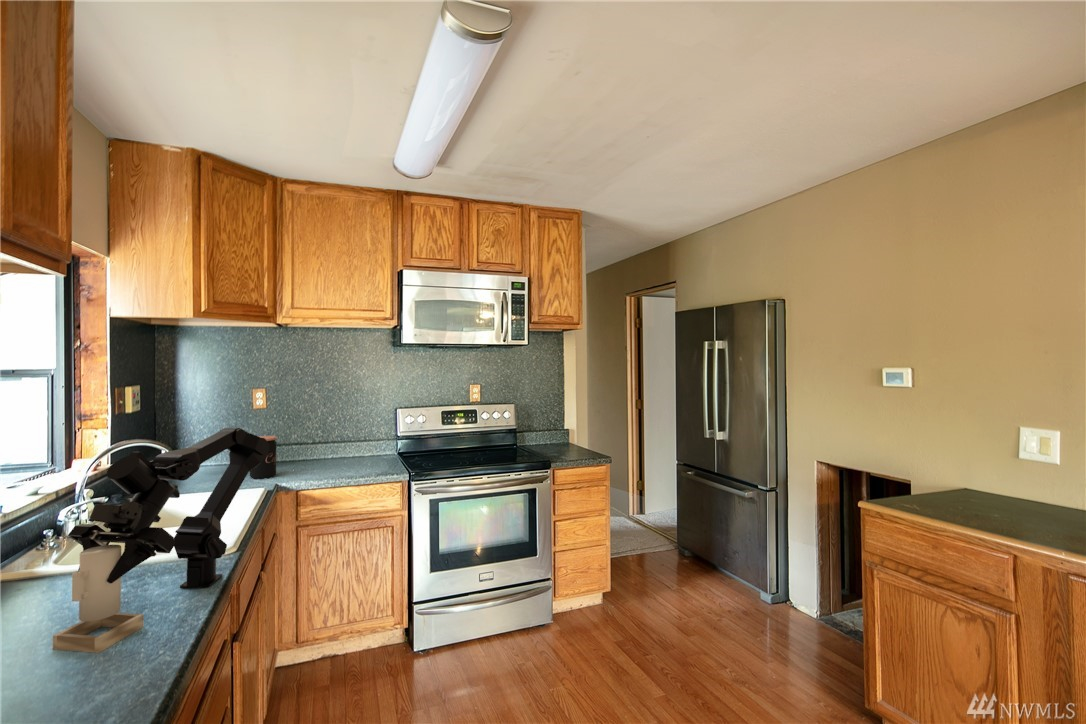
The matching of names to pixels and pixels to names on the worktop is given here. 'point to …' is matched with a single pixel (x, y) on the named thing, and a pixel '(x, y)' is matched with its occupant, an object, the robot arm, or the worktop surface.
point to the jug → (97, 583)
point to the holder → (79, 641)
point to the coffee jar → (266, 461)
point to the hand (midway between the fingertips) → (93, 581)
